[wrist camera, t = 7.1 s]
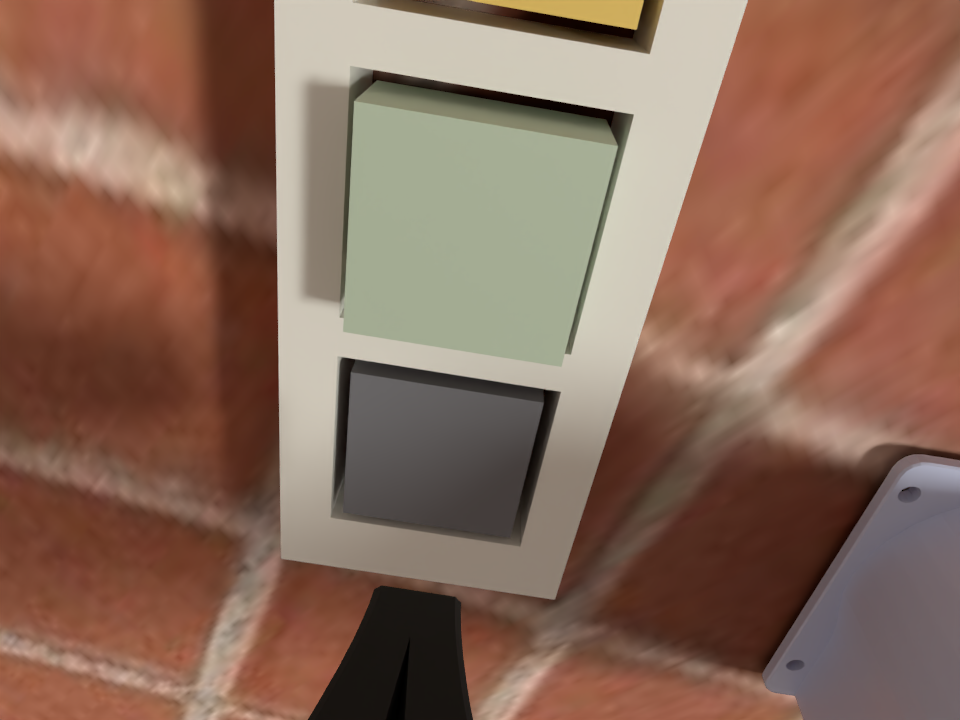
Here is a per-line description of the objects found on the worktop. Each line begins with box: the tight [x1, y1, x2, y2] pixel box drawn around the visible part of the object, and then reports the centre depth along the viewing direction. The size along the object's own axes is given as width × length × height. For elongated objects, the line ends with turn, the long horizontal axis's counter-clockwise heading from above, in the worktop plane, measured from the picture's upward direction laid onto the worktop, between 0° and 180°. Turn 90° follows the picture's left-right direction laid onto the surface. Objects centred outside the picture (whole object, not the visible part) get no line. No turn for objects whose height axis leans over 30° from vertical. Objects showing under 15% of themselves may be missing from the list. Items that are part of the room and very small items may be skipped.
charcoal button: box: [343, 359, 544, 538], centre depth 16 cm, size 4×4×2 cm
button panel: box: [274, 0, 748, 600], centre depth 13 cm, size 19×7×2 cm, turn 171°
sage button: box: [343, 80, 618, 367], centre depth 12 cm, size 4×4×2 cm
